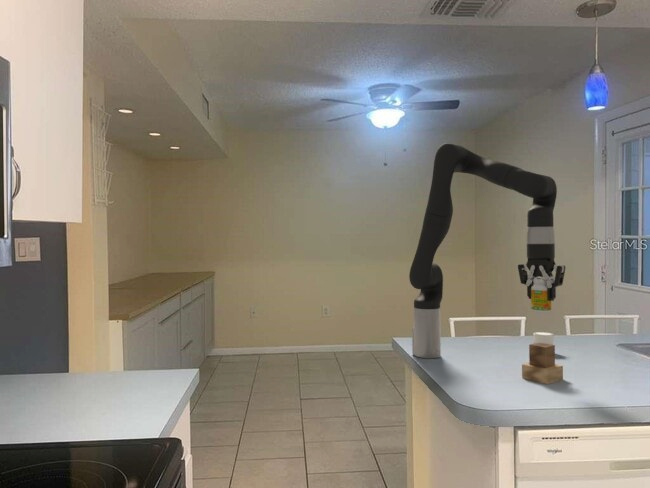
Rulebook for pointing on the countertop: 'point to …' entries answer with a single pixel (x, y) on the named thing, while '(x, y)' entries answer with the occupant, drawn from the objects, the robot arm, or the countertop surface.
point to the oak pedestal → (542, 373)
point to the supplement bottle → (540, 296)
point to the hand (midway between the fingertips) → (541, 299)
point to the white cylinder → (543, 337)
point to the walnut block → (542, 355)
